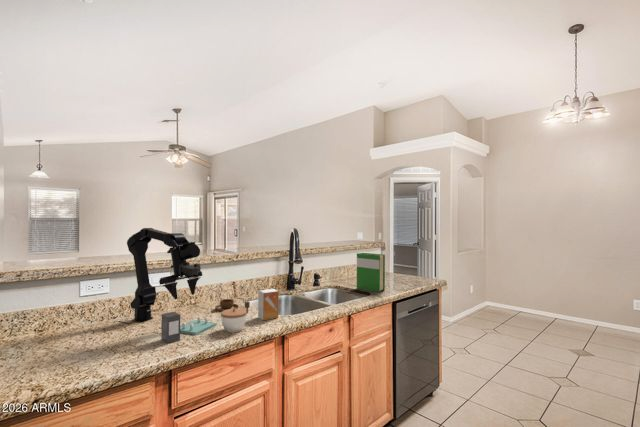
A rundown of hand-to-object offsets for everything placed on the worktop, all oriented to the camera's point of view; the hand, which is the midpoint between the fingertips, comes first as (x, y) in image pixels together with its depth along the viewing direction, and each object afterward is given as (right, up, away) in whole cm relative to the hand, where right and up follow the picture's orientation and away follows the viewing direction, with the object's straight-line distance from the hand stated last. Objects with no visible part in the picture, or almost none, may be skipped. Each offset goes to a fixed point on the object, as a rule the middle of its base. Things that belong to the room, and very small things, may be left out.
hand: (184, 296), depth 141 cm
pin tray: (+4, -14, 0) cm, 14 cm away
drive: (0, -14, -13) cm, 19 cm away
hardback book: (+93, -16, +79) cm, 123 cm away
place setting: (+12, -15, +27) cm, 33 cm away
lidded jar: (+22, -14, -2) cm, 26 cm away
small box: (+34, -14, +16) cm, 40 cm away
